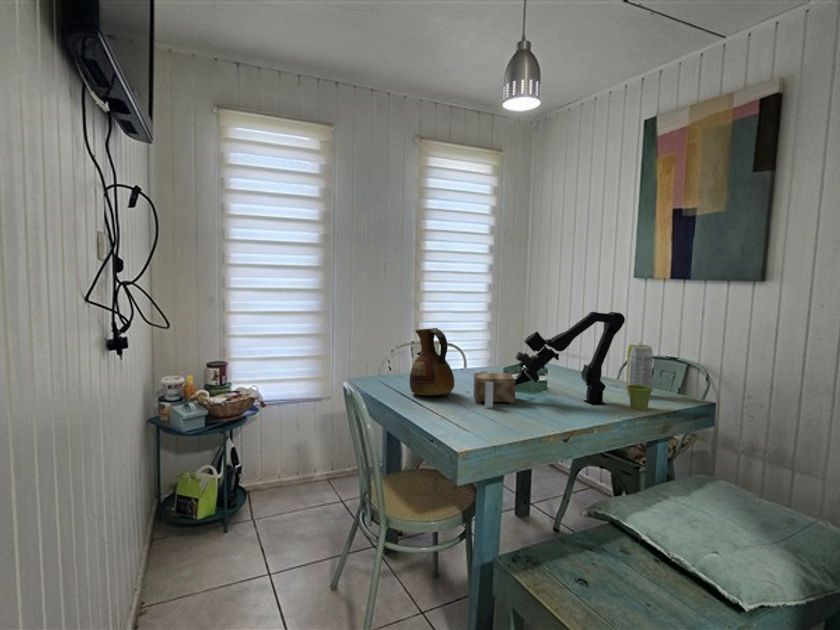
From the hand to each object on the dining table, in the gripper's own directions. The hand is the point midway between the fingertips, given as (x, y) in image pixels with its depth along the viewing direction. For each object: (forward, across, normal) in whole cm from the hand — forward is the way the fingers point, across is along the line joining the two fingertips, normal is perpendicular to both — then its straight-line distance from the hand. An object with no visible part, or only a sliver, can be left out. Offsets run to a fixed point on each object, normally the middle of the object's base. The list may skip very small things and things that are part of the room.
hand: (513, 384), depth 196 cm
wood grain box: (+11, 0, -1) cm, 11 cm away
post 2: (+13, +11, -3) cm, 17 cm away
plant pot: (-30, +7, +40) cm, 50 cm away
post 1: (+13, -11, -3) cm, 17 cm away
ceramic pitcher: (+30, -7, -19) cm, 36 cm away
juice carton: (-36, -14, +46) cm, 60 cm away
